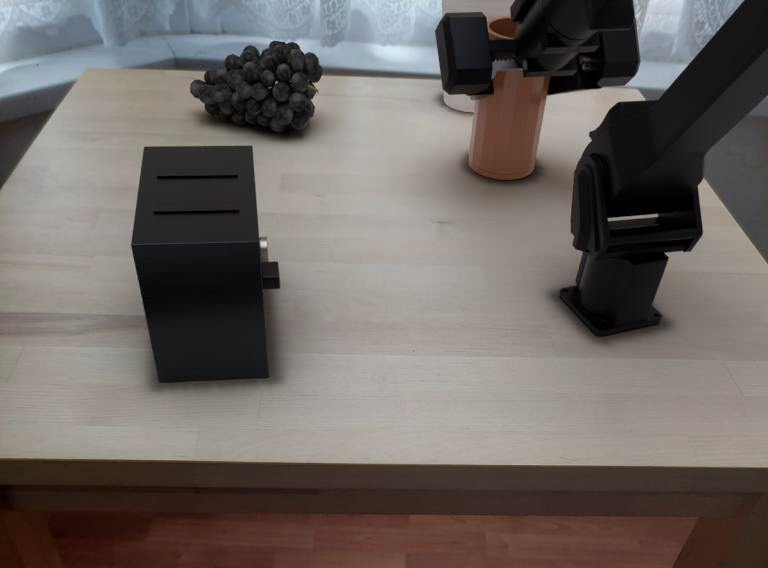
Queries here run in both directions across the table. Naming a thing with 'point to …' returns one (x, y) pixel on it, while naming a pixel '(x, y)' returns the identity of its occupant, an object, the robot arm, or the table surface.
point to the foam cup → (492, 4)
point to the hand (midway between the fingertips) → (506, 93)
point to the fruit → (263, 87)
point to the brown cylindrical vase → (507, 118)
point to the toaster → (202, 262)
